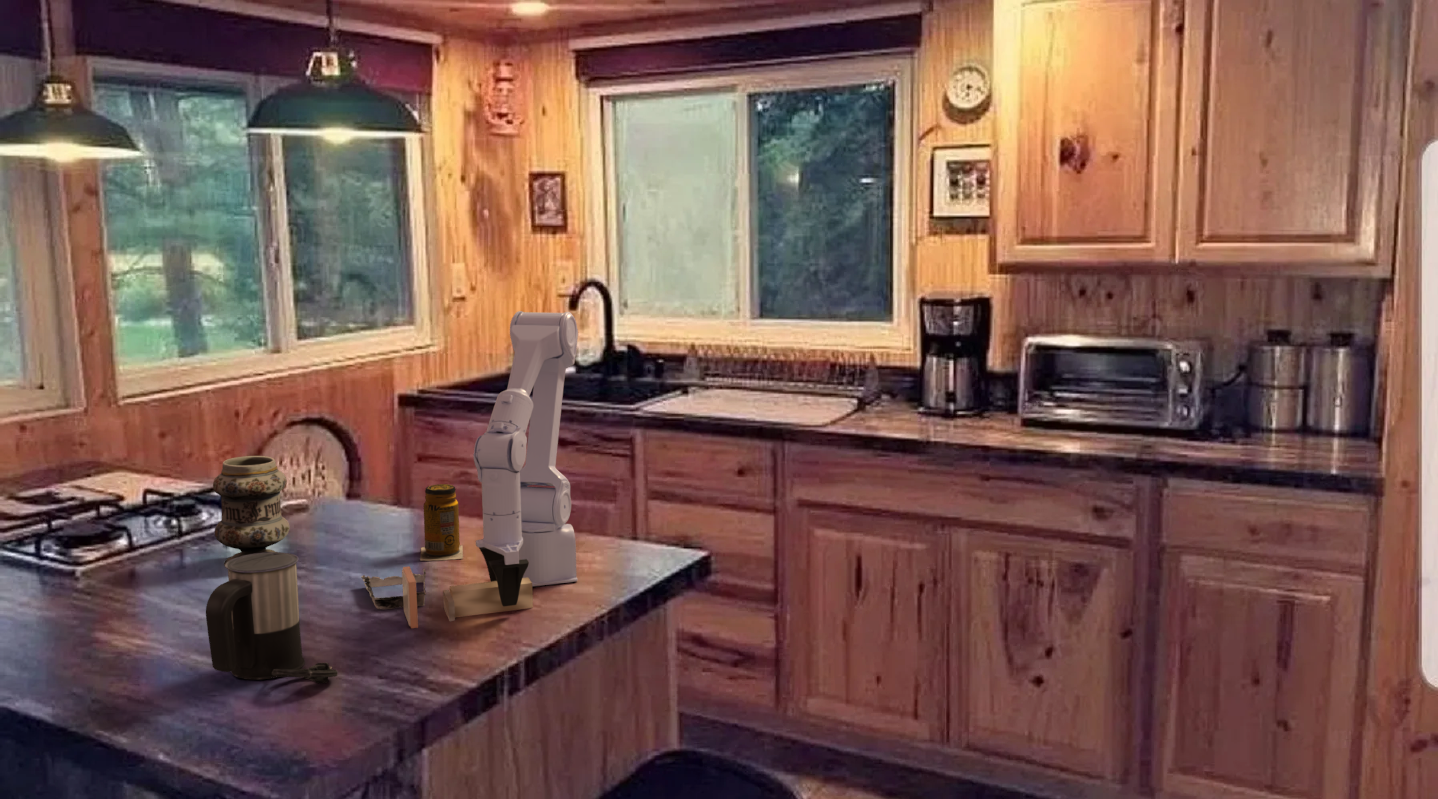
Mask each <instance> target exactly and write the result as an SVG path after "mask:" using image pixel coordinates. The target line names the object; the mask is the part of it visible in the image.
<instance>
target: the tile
mask: <svg viewBox="0 0 1438 799" xmlns="http://www.w3.org/2000/svg"><path fill="white" fill-rule="evenodd" d="M401 577H402V583H403V584H402V596H403V604H404V607H403V613H404V615H405V617H406V618H405V619H406V620H407V624H408V627H410V629H418V628H419V620H418V619H419V617H418V606H417V593H416V592H417V583H416V580H415V578H414V576H413V571H412V569H411V566H403V567H402V570H401Z"/></svg>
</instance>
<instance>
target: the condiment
mask: <svg viewBox="0 0 1438 799" xmlns="http://www.w3.org/2000/svg"><path fill="white" fill-rule="evenodd" d="M456 489H457V488H456V487H455V486H454V485H453V484H448V483H443V484H442V483H440V484H437V483H436V484H432V485H428V486H427V487H426V488H425V490H424V492H425V496H424V499H425V501H424V503H423V526H424V527H423V529H424V531H423V532H424V547H420V557H419V558H420V559H419V561H426V562H427V561H448V560H459V559H461V560H462V559H464V553H463V552H464V551H463V550H464V549H463V548H464V547H463V546H464V545H463V544H460V520H459V518H460V517H459V515H460V514H459V501H458V500H457V499H456V498H457V495H456Z"/></svg>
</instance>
